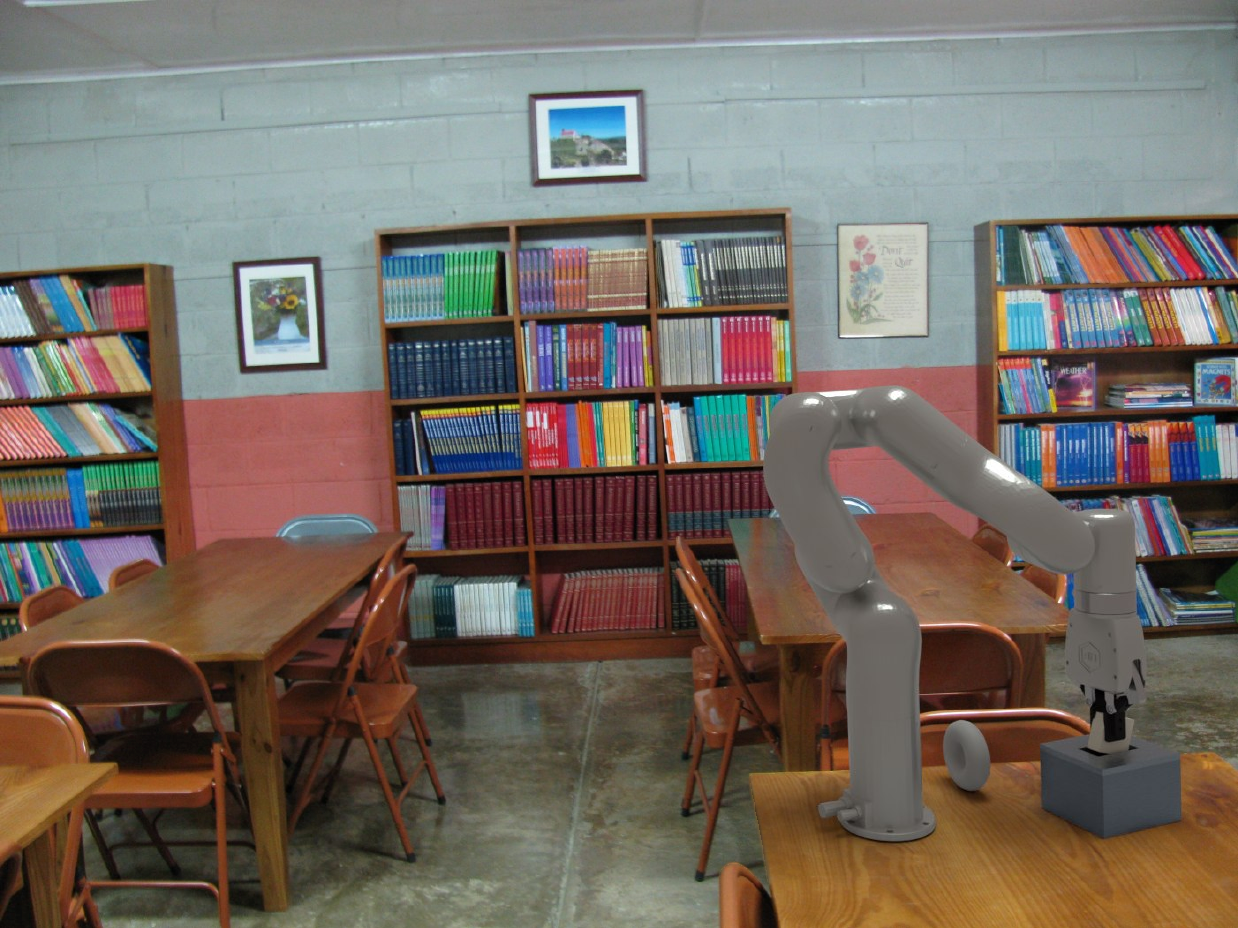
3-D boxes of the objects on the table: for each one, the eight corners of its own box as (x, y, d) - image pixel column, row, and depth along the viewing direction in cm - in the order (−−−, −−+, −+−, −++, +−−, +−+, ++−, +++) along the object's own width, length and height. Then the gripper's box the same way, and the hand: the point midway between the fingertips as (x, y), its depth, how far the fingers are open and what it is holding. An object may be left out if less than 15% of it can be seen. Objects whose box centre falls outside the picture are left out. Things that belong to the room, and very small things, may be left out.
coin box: (1104, 838, 129) (1102, 769, 129) (1041, 807, 140) (1039, 743, 139) (1181, 820, 133) (1180, 753, 133) (1115, 791, 144) (1114, 729, 143)
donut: (996, 800, 143) (994, 730, 142) (973, 803, 142) (971, 733, 142) (960, 775, 153) (958, 710, 152) (939, 778, 152) (937, 712, 152)
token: (1098, 752, 134) (1106, 714, 134) (1087, 747, 136) (1094, 710, 136) (1127, 756, 136) (1134, 719, 136) (1115, 752, 138) (1122, 715, 138)
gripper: (1039, 595, 141) (1043, 725, 142) (1130, 616, 126) (1133, 760, 127) (1082, 590, 143) (1085, 717, 144) (1176, 609, 129) (1179, 751, 130)
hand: (1107, 736), depth 136 cm, fingers closed on token, 1 cm apart
